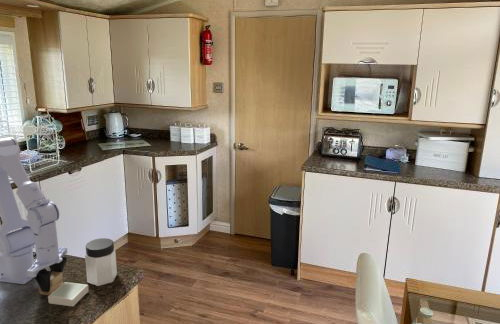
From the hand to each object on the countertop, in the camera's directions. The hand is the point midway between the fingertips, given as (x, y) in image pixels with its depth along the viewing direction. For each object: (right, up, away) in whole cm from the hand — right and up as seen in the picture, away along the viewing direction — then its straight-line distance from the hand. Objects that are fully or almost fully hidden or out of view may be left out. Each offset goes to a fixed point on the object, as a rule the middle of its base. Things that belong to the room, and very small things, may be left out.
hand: (51, 286), depth 111 cm
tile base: (+7, -2, -3) cm, 7 cm away
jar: (+12, 0, +7) cm, 14 cm away
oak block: (0, -1, 0) cm, 1 cm away
